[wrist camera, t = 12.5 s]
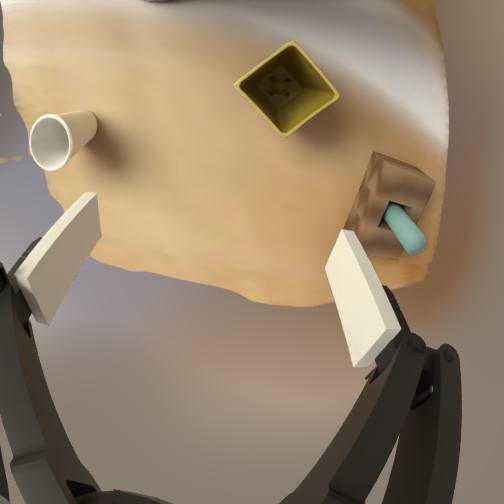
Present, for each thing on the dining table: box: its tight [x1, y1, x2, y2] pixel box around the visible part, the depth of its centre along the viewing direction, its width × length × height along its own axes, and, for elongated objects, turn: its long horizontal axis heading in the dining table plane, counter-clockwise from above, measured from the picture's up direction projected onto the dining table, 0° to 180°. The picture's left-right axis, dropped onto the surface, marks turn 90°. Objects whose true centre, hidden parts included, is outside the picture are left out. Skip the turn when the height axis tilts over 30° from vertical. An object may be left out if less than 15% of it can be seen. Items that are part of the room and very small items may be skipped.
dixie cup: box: [30, 110, 97, 171], centre depth 31 cm, size 8×8×10 cm
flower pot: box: [234, 41, 340, 138], centre depth 30 cm, size 9×9×9 cm
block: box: [344, 151, 436, 260], centre depth 42 cm, size 16×10×6 cm, turn 169°
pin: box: [382, 201, 427, 255], centre depth 38 cm, size 4×4×12 cm
